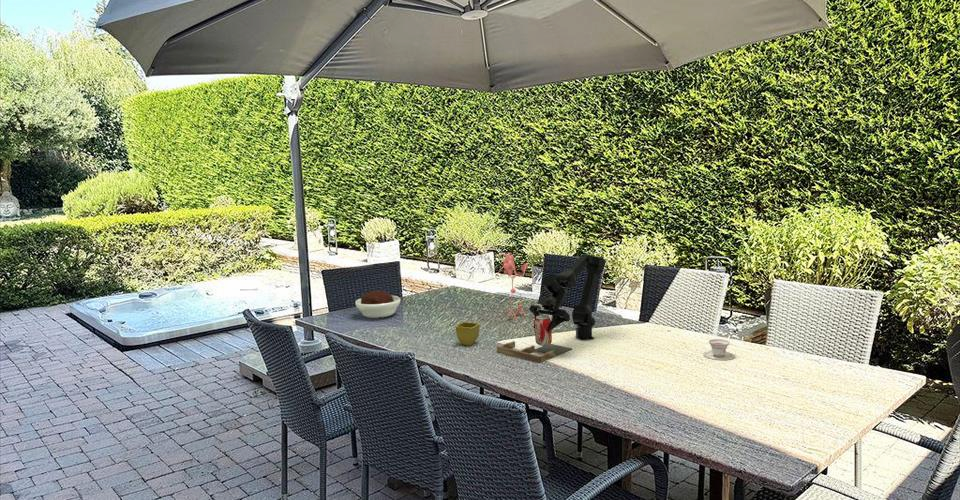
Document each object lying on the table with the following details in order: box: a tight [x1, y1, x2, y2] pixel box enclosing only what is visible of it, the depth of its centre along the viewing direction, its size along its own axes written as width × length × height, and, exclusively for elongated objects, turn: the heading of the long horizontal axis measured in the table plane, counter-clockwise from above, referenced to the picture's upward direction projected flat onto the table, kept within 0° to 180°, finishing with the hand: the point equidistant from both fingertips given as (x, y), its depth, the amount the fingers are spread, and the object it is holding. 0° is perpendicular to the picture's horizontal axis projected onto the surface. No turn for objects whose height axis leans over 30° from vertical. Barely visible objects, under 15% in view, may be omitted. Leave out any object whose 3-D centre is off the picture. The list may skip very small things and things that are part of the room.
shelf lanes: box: [496, 340, 556, 364], centre depth 253 cm, size 11×24×2 cm, turn 45°
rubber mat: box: [534, 343, 573, 357], centre depth 257 cm, size 12×12×1 cm
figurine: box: [494, 252, 533, 321], centre depth 317 cm, size 15×26×35 cm, turn 146°
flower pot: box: [454, 321, 481, 346], centre depth 272 cm, size 9×9×9 cm
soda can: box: [534, 314, 553, 347], centre depth 252 cm, size 7×7×12 cm
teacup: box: [702, 338, 735, 361], centre depth 241 cm, size 12×12×6 cm
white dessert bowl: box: [355, 290, 401, 319], centre depth 332 cm, size 25×25×15 cm
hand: (541, 329), depth 251 cm, fingers closed on soda can, 7 cm apart
